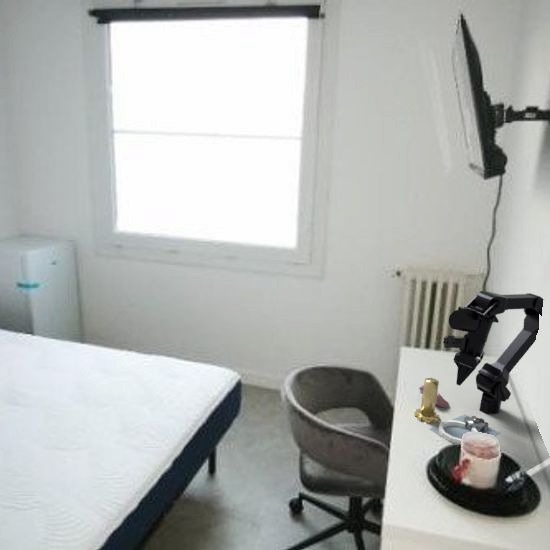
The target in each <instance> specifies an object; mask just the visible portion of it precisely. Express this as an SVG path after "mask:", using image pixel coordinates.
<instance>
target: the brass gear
mask: <svg viewBox="0 0 550 550" xmlns="http://www.w3.org/2000/svg"><path fill="white" fill-rule="evenodd" d="M423 385H424V389H423V394H422V400H421V404H420V408H417V409H416V410H415V411H414V417H416V419H417V420H418V421H419V422H421V421H424V422H425V423H426V424H431V423H434V424H436V423H438V422H439V420H440V414H437V411H436V405H435V404H436V398H437V392H439V385H440V384H439V380H438V379H436V378H433V377H426V378H424V383H423Z"/></svg>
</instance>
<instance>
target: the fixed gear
mask: <svg viewBox="0 0 550 550" xmlns="http://www.w3.org/2000/svg"><path fill="white" fill-rule="evenodd" d="M468 416H469V415H467V417H465V419H464V420H463V422H465V423H466V424H465V426H467V429H469V430H471V429H472V428H475V429H476V430H477V431H478V432H480V431H483V432H486V431H487V429H488V427H489V423H488V421H487V422H485V419H484V418H479V417H477V415H476V416H475V415H471V416H469V417H468Z"/></svg>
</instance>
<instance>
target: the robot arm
mask: <svg viewBox="0 0 550 550" xmlns="http://www.w3.org/2000/svg"><path fill="white" fill-rule="evenodd" d="M543 300H544V301H545V299H544V298H543V297H541V296H540V295H536V294H534V293H531V292H529V293H522V294H521V293H520V294H519V293H518V294H517V293H516V294H514V293H513V294H499V293H495V292H492V291H487V290H480V291H479V292H478V293H477V295H475V296H474V297H472V299H471V300H470V301H469V302H468V303H467V304H466V305H465V306H464V307H463V306H462V305H461V306H458V308H457V309H456V310H454V311H452V312H451V314H450V315H449V316H448V324H449V327H450V328H451V329H452V330H455V331H461V332H467V333H465V334H463V336H460V335H459V336H458V335H454V334H452V335H451V334H448V335H446V336H444V337H443V341H442V344H443V348H444V349H450V348H451V349H452V348H453V349H458V352H456V353H455V355H454V356H453V362H454V364H455V365H456V367H457V373H456V385H457V386H459V387H460V386H461V385H462V384H463V383H464V382H465V381H466V379H468V378H469V377H470V375H471V374H472V373H473V372H474V371H475V370H476V369H477V367H478V366H479V364H480V363H481V362H482V360H483V359H484V356H485V351H484V348H485V346H486V344H487V342H488V337H489V334H490V332H491V329H492V326H493V324H494V323H499V322H500V321H499V319H498V317H497V315H500V314H504V313H505V312H506V311H509V310H523V313H524V314H525V317H524V319H523V326H522V327H523V328H522V329H521V330H520V332H519V333H518V334H517V335H516V336H515V338H514V339H513V340H512V341H511V343H510V344H509V345H508V346H507V348H505V350H504V351H503V352H502V353H501V355H500V356H499V357H498V359H497V360H496V361H495V362H493V363H488V362H486V363H484V364H483V366H482V367H481V368H480V369H479V370H478V371H477V374H476V376H475V384H476V389H477V390H478V391H480V392H482V394H481V400H480V403H479V404H480V405H479V412H482V413H484V414H485V415H497V414H499V413H500V411H501V406H502V402H507V400H509V399H510V396H511V395H512V393H511V392H510V390H509V389H508V387H507V385H509V381H510V379H509V378H510V373H511V371H512V370H513V369H514V368H515V366H516V365H517V364H518V363H519V361H520V360H522V358H523V357H524V356H525V354H526V353H527V352H528V351H529V350H530V348H531V347H532V346H533V345H534V343H535V342H536V341H537V340H536V335H537V333H538V330H539V314H540V315H541V316H542V307H543ZM535 340H536V341H535Z"/></svg>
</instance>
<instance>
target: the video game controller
mask: <svg viewBox="0 0 550 550" xmlns="http://www.w3.org/2000/svg"><path fill="white" fill-rule="evenodd" d="M418 389H419V394H421V395H423V389H424V384H423V385H421V386H419V388H418ZM435 406H438V407H440V408H447V407H448V408H449V407H450V403H449V402H448V401H447V400H446V399H445V398H444V397H443V396H442V395H441V394H440V393H439V391H437V398H436V404H435Z"/></svg>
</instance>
